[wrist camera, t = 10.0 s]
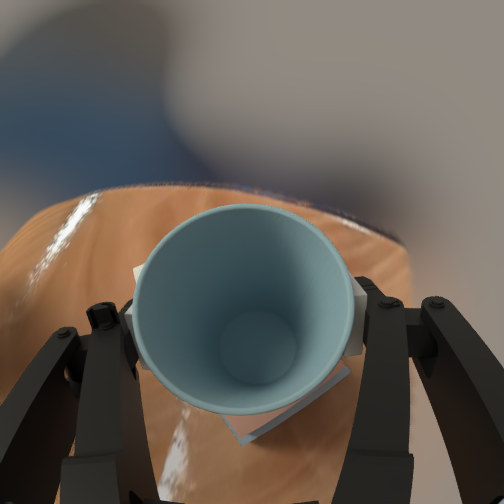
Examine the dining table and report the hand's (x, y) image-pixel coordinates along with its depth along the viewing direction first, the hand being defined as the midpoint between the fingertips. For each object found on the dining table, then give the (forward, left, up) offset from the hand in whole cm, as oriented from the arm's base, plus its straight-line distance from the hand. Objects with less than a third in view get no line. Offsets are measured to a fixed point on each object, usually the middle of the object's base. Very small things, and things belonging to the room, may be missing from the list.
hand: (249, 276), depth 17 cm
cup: (+3, -2, -4) cm, 6 cm away
